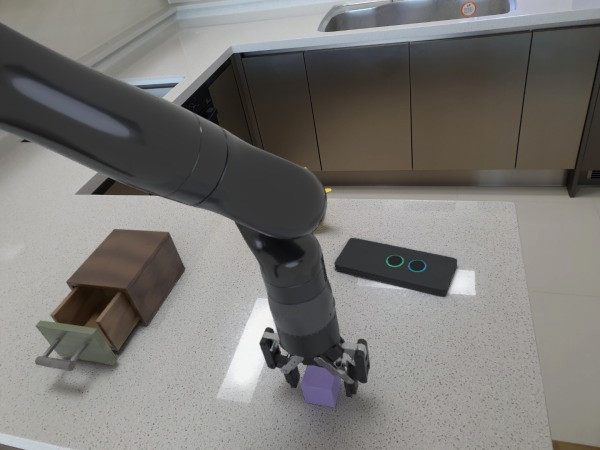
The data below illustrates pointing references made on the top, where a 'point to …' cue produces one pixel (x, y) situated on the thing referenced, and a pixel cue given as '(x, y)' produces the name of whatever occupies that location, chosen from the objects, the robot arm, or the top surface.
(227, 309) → the top surface
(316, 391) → the lavender cube
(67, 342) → the drawer
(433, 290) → the smart home device
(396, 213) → the top surface
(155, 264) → the cabinet
